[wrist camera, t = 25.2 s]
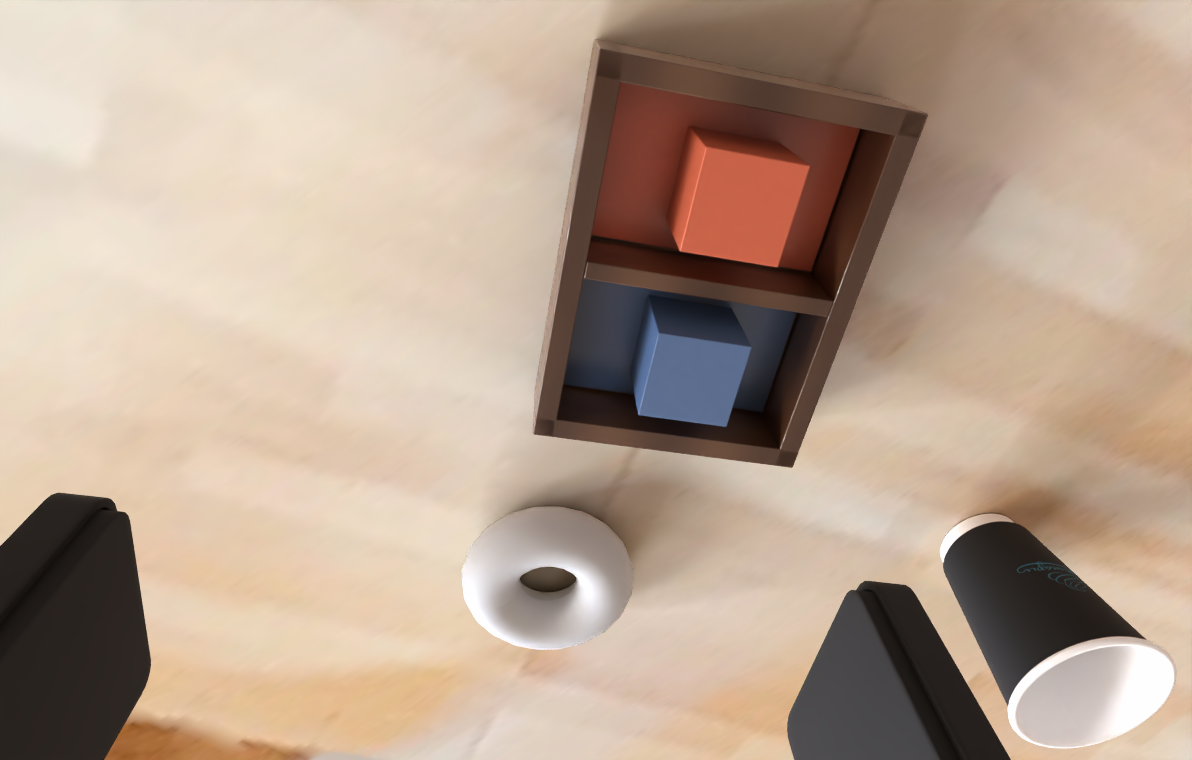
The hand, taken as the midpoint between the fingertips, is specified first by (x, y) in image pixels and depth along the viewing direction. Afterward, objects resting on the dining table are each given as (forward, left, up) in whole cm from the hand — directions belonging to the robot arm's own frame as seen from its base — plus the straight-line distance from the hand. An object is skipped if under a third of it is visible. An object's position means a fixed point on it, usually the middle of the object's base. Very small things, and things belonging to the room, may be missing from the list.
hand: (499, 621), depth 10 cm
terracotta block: (+8, +1, -25) cm, 27 cm away
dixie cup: (+30, -18, -26) cm, 44 cm away
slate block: (+8, -7, -25) cm, 27 cm away
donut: (+4, -23, -26) cm, 35 cm away
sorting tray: (+8, -3, -26) cm, 28 cm away
